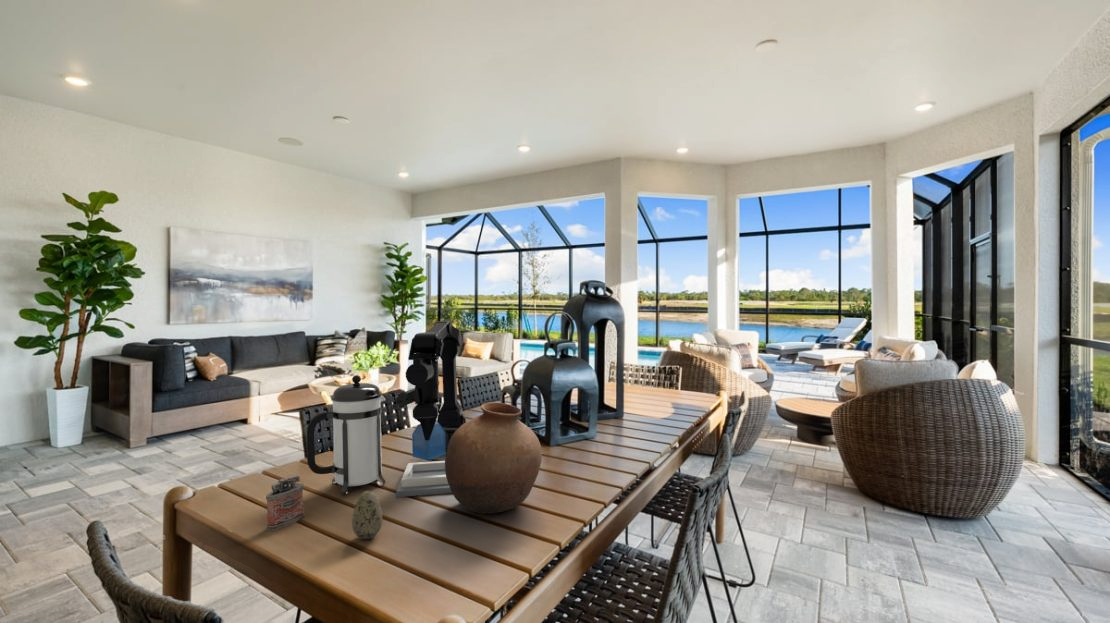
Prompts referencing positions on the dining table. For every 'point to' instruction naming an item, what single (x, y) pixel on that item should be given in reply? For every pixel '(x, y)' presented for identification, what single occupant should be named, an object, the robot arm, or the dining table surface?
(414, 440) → the perfume bottle
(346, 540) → the dining table surface
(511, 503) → the pottery
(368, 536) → the decorative egg
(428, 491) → the socket board
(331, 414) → the coffee press
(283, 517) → the lighter
